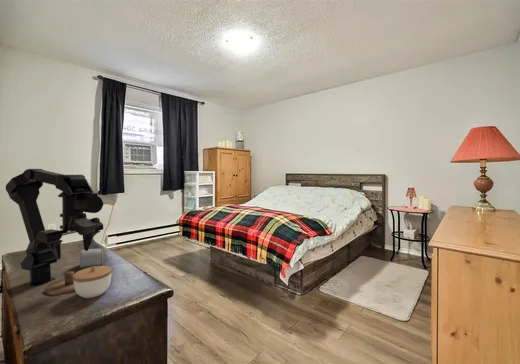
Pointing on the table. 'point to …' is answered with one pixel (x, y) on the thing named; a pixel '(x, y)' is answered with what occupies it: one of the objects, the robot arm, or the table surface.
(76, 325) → the table surface
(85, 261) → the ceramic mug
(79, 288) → the lidded jar
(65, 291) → the lid
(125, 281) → the table surface
